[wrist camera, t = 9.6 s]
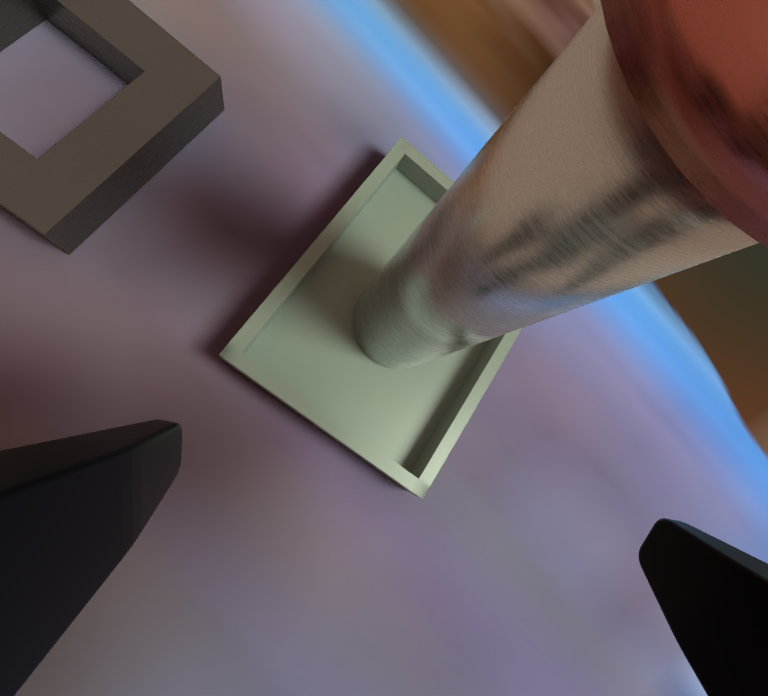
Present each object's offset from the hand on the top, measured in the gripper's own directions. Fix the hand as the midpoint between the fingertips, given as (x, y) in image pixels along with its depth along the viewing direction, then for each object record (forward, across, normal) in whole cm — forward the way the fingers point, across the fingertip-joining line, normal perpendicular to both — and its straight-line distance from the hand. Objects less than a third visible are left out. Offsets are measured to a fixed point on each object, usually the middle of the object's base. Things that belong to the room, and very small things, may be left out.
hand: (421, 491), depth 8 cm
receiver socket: (+13, -16, +5) cm, 21 cm away
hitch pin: (+12, 0, -1) cm, 12 cm away
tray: (+13, 0, -1) cm, 13 cm away
